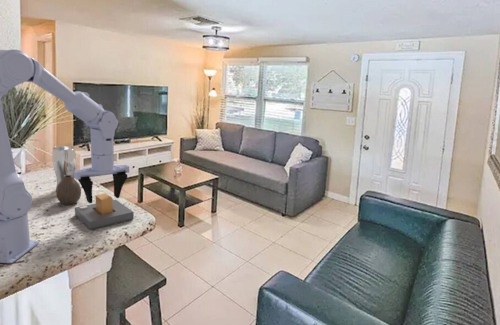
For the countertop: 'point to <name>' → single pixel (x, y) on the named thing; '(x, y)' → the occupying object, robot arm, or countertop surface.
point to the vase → (68, 190)
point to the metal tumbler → (64, 161)
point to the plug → (104, 204)
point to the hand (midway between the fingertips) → (103, 199)
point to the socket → (103, 215)
